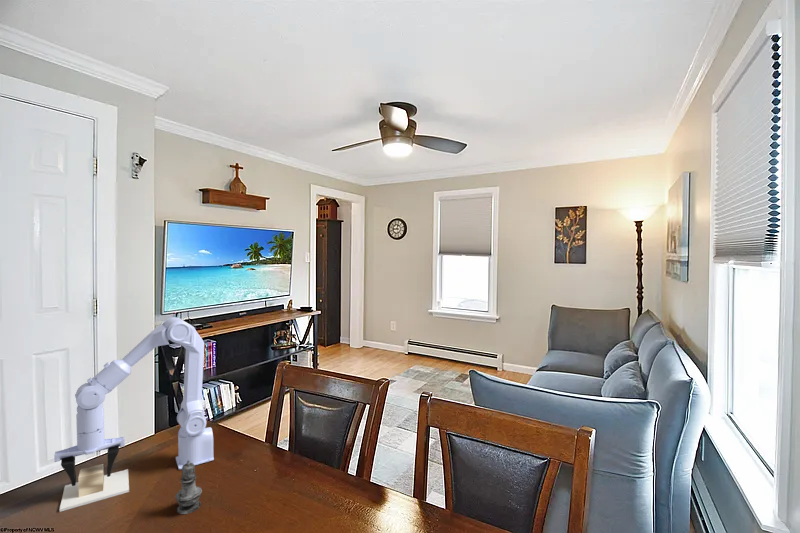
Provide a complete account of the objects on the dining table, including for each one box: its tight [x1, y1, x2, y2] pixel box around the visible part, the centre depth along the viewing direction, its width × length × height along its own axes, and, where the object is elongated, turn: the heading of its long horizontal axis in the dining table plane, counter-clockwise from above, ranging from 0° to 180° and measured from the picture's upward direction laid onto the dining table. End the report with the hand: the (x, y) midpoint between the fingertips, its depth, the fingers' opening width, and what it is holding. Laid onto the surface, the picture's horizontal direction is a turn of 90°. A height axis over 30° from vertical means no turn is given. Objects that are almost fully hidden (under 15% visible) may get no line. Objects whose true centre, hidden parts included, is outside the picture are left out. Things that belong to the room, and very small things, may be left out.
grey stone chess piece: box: [174, 460, 203, 515], centre depth 98 cm, size 6×6×12 cm
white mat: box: [59, 468, 130, 513], centre depth 105 cm, size 14×12×1 cm
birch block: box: [77, 463, 105, 497], centre depth 104 cm, size 5×5×5 cm
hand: (91, 479), depth 104 cm, fingers open, 7 cm apart
